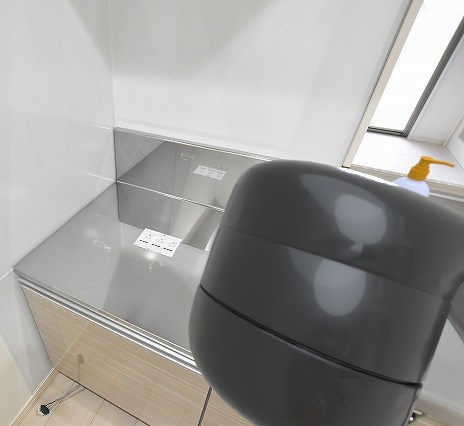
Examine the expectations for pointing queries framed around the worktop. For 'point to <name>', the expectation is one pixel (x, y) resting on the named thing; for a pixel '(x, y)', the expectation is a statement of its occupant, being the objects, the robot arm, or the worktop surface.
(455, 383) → the worktop surface
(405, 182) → the soap bottle
